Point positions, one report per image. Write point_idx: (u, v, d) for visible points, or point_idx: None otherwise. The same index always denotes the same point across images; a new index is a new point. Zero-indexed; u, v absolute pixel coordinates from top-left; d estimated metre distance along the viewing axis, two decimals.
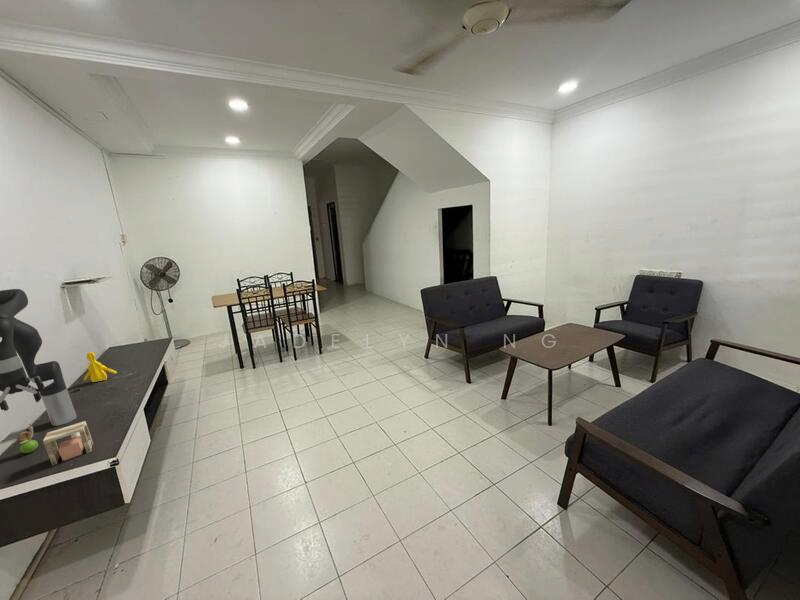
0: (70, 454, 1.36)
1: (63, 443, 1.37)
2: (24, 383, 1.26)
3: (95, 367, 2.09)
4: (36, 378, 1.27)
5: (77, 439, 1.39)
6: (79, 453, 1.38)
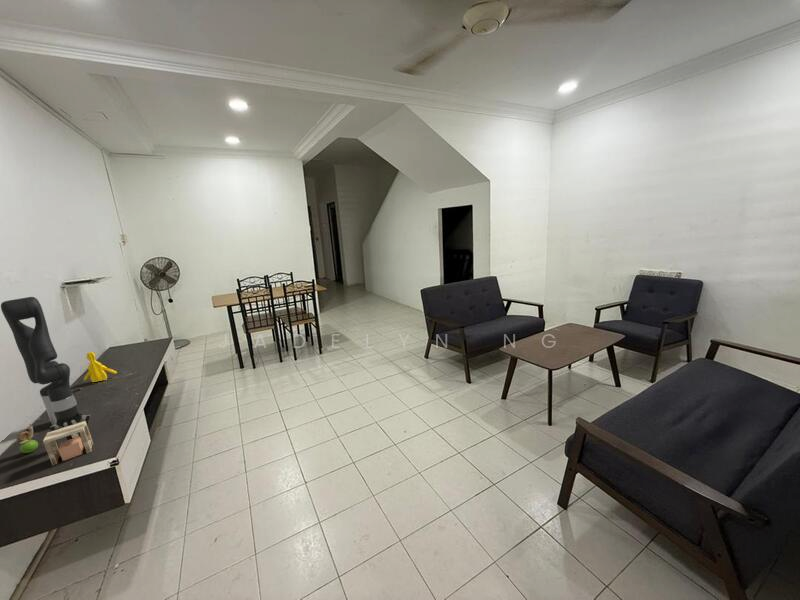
0: (70, 454, 1.36)
1: (63, 443, 1.37)
2: (78, 420, 1.46)
3: (95, 367, 2.09)
4: (88, 416, 1.48)
5: (77, 439, 1.39)
6: (79, 453, 1.38)
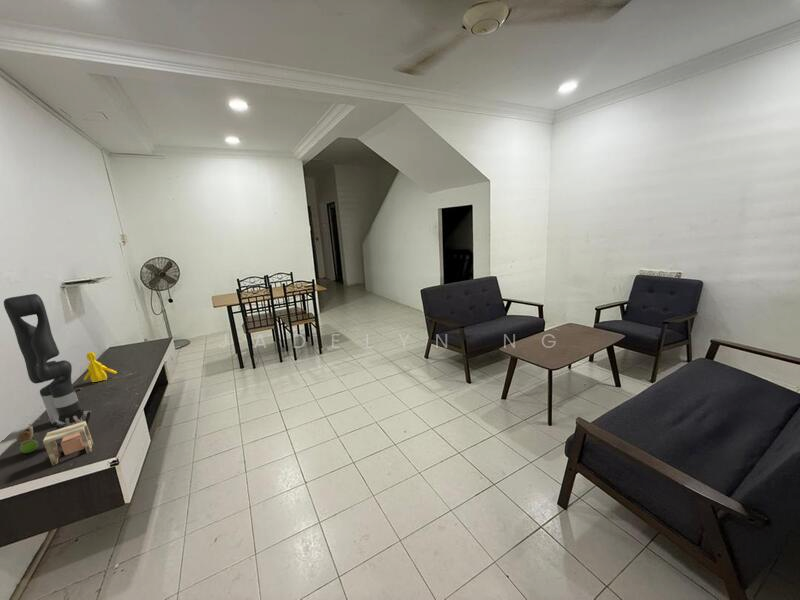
0: (72, 448, 1.39)
1: (65, 438, 1.40)
2: (79, 416, 1.49)
3: (95, 367, 2.09)
4: (89, 412, 1.51)
5: (79, 434, 1.43)
6: (81, 448, 1.41)
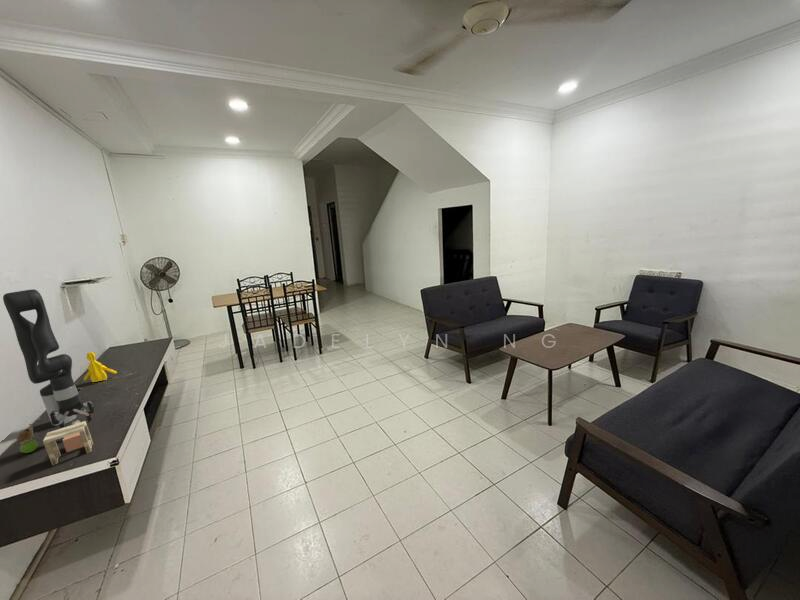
0: (74, 445, 1.42)
1: None
2: (79, 407, 1.51)
3: (95, 367, 2.09)
4: (89, 403, 1.53)
5: None
6: (82, 445, 1.43)
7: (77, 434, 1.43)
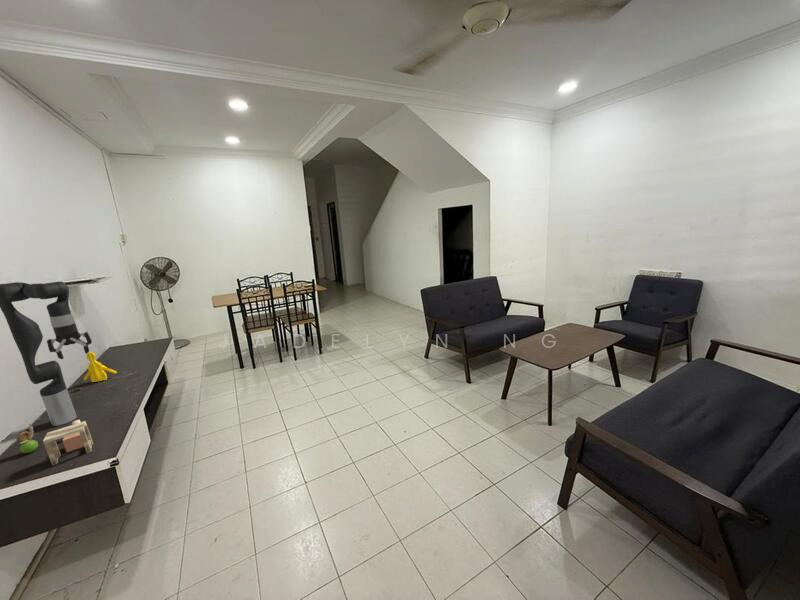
0: (74, 445, 1.42)
1: None
2: (76, 337, 1.50)
3: (95, 367, 2.09)
4: (86, 333, 1.52)
5: None
6: (82, 445, 1.43)
7: (77, 434, 1.43)
